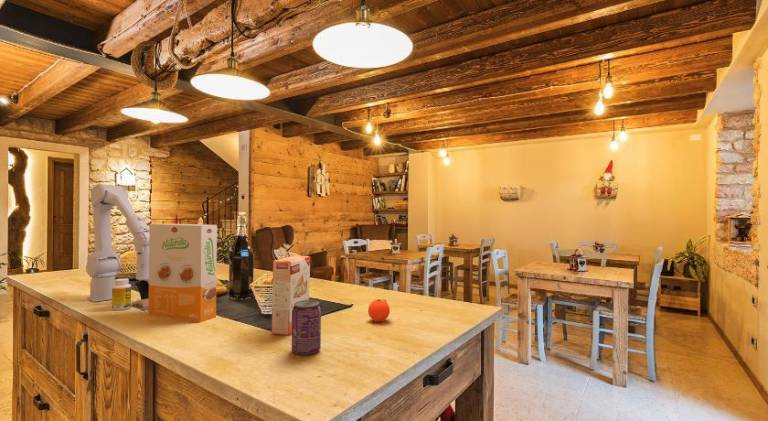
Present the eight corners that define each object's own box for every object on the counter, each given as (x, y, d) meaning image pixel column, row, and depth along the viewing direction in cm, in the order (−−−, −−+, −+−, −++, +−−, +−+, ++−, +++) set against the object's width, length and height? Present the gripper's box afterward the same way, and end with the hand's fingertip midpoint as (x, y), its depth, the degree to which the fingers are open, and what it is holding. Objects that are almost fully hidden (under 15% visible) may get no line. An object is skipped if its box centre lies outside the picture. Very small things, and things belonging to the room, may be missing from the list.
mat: (132, 305, 136) (132, 304, 136) (159, 300, 143) (159, 300, 143) (143, 310, 129) (143, 309, 129) (171, 305, 136) (171, 304, 136)
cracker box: (290, 336, 105) (291, 261, 105) (270, 334, 106) (271, 260, 106) (310, 321, 118) (311, 255, 118) (292, 320, 120) (293, 254, 120)
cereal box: (215, 317, 122) (217, 225, 122) (200, 322, 116) (201, 225, 116) (165, 310, 130) (166, 223, 130) (148, 314, 124) (149, 224, 124)
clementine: (378, 316, 126) (378, 294, 126) (395, 319, 122) (395, 297, 122) (363, 321, 119) (363, 299, 119) (381, 325, 115) (381, 302, 115)
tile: (136, 300, 136) (143, 303, 131) (155, 297, 140) (162, 300, 136) (136, 304, 136) (143, 307, 131) (155, 301, 140) (162, 304, 136)
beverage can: (308, 344, 99) (308, 298, 99) (326, 350, 94) (326, 302, 94) (285, 351, 93) (286, 303, 93) (303, 359, 89) (304, 308, 89)
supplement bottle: (126, 310, 129) (127, 280, 129) (108, 311, 128) (108, 281, 128) (133, 306, 135) (134, 277, 135) (116, 307, 133) (116, 278, 133)
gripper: (165, 265, 137) (165, 302, 137) (150, 261, 146) (150, 296, 146) (143, 267, 132) (143, 306, 132) (129, 263, 141) (129, 299, 141)
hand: (145, 301), depth 139 cm, fingers closed
